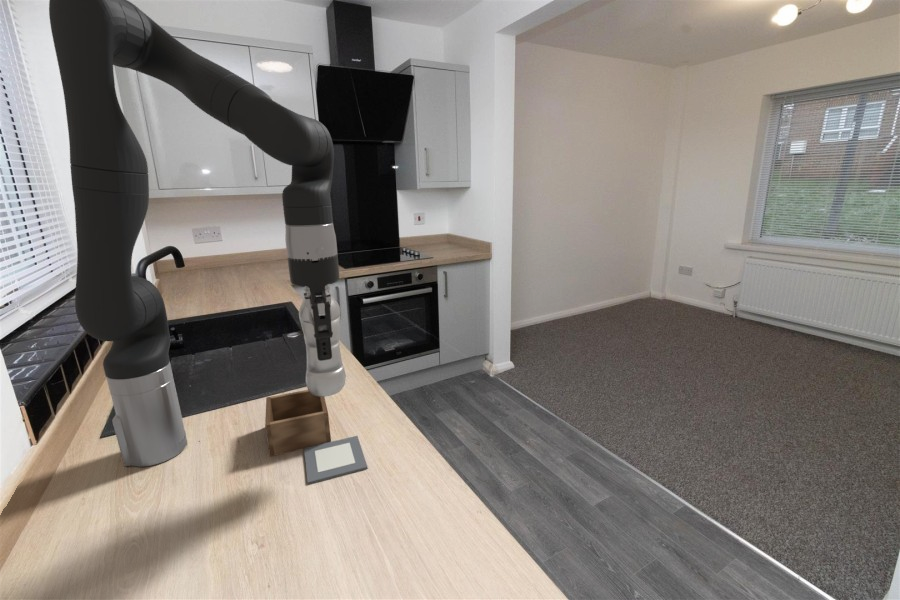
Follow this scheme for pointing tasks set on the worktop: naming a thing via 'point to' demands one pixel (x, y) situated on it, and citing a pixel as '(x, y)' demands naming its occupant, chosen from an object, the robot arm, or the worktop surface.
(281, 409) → the crate
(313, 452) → the mat
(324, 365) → the plastic bottle
